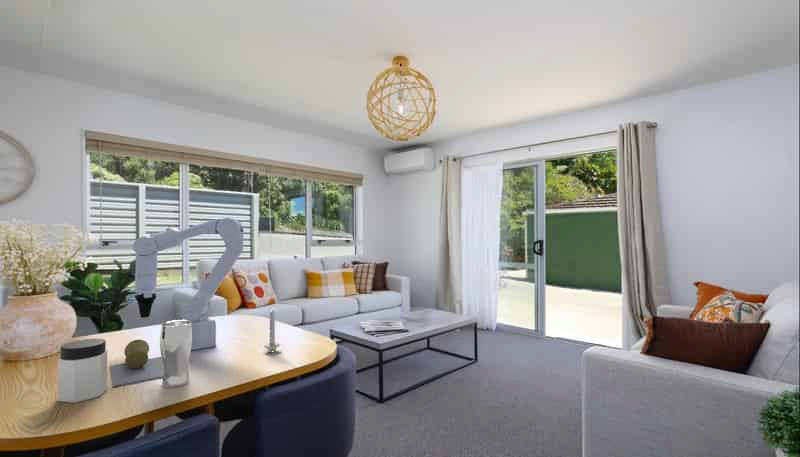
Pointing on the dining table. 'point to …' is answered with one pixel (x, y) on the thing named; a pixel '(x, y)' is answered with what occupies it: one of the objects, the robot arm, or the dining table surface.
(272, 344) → the screw
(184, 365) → the beer glass
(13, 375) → the dining table surface
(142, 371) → the mat
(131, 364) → the cork
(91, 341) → the jar
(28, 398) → the dining table surface
